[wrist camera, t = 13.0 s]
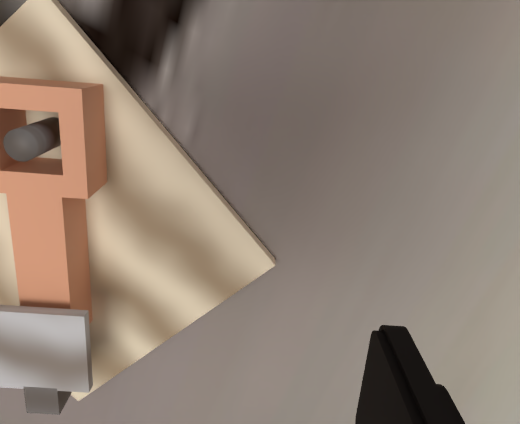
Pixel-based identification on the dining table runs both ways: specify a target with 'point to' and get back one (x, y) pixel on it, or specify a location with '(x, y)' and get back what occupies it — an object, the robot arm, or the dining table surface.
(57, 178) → the link
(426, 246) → the dining table surface
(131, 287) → the board
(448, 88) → the dining table surface
